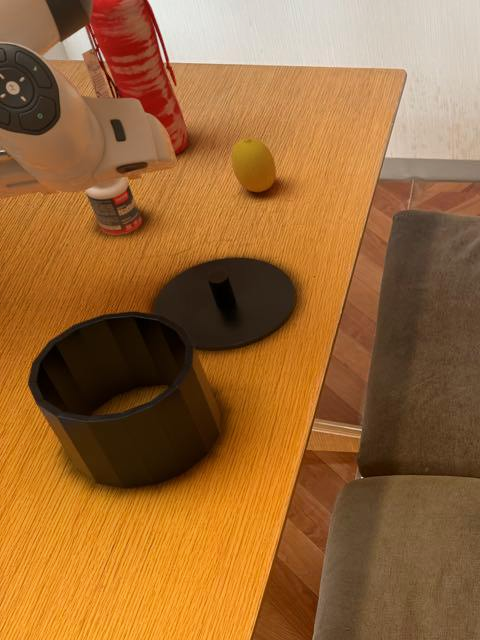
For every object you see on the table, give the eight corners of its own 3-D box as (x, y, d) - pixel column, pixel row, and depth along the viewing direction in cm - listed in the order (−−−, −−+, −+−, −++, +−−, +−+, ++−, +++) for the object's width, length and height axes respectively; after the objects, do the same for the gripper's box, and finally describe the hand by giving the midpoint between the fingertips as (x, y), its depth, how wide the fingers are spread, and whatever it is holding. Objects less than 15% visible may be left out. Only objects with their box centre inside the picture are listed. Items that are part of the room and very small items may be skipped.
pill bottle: (132, 240, 117) (107, 179, 110) (95, 236, 117) (67, 174, 110) (150, 217, 120) (126, 155, 113) (113, 212, 120) (87, 150, 113)
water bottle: (107, 166, 127) (27, -27, 106) (119, 136, 131) (45, -55, 111) (193, 165, 127) (130, -28, 107) (202, 134, 132) (143, -56, 112)
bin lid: (153, 362, 104) (138, 330, 100) (161, 272, 113) (149, 240, 109) (298, 346, 106) (290, 314, 102) (295, 259, 115) (287, 227, 111)
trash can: (64, 500, 92) (17, 430, 83) (81, 393, 101) (41, 320, 92) (219, 480, 93) (189, 410, 85) (223, 377, 102) (196, 304, 94)
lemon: (256, 177, 126) (242, 122, 119) (289, 187, 124) (276, 133, 118) (232, 197, 123) (216, 142, 116) (265, 208, 121) (250, 153, 115)
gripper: (-38, 194, 89) (6, 224, 102) (172, 158, 93) (188, 190, 107) (-61, 129, 88) (-13, 167, 101) (153, 94, 92) (172, 136, 105)
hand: (92, 179), depth 104 cm, fingers open, 8 cm apart
